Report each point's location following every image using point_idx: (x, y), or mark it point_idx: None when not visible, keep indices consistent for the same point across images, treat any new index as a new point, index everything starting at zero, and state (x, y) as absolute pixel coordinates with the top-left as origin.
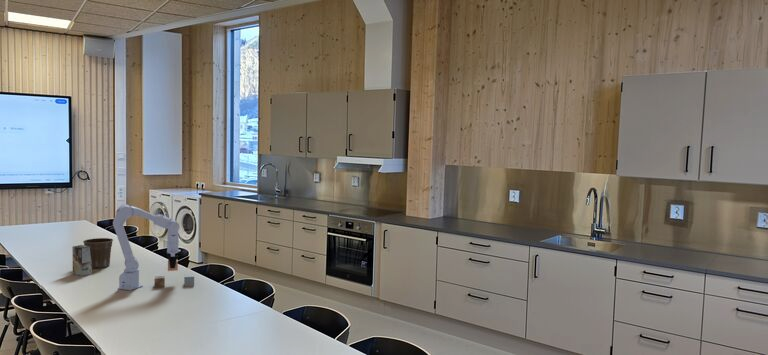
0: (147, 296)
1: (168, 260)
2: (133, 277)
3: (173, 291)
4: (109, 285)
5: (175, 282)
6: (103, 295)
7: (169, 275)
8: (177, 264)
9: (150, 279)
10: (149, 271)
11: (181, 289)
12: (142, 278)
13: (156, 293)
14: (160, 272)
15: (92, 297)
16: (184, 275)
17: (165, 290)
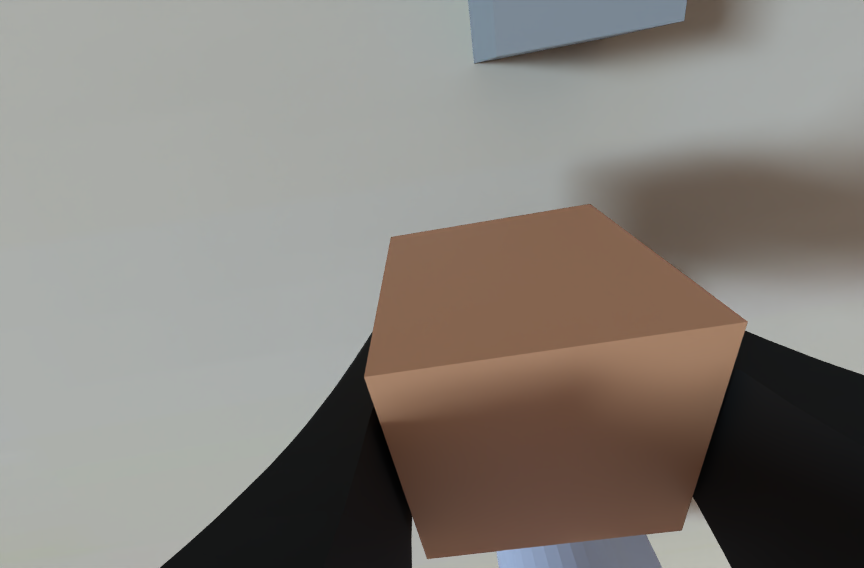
0: (860, 341)
1: (510, 542)
2: (622, 550)
3: (819, 145)
4: (461, 555)
5: (403, 192)
6: (681, 535)
7: (98, 305)
8: (667, 269)
9: (294, 416)
10: (27, 466)
11: (775, 53)
12: (270, 463)
13: (802, 294)
14: (16, 395)
15: (699, 558)
16: (544, 46)
17: (729, 237)
